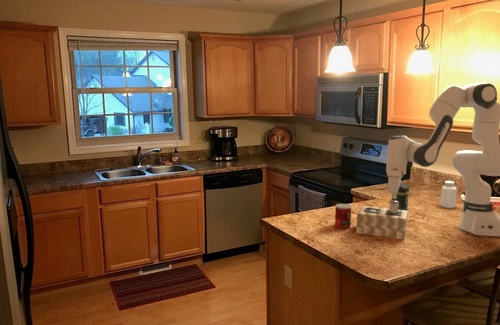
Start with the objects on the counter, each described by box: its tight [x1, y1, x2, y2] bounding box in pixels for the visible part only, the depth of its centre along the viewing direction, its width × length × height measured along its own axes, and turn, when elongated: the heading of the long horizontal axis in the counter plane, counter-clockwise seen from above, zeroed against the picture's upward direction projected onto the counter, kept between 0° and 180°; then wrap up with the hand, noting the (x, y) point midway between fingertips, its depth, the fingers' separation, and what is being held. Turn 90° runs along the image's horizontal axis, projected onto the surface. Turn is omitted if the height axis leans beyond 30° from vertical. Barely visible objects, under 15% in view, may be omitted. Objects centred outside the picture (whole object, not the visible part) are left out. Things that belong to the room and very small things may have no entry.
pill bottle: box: [440, 180, 458, 209], centre depth 243 cm, size 8×8×15 cm
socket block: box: [355, 205, 409, 240], centre depth 201 cm, size 22×14×10 cm, turn 66°
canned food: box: [334, 203, 352, 230], centre depth 208 cm, size 8×8×11 cm
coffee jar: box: [391, 182, 410, 211], centre depth 222 cm, size 10×8×19 cm
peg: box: [388, 199, 399, 214], centre depth 198 cm, size 4×4×10 cm
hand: (394, 198), depth 197 cm, fingers closed
